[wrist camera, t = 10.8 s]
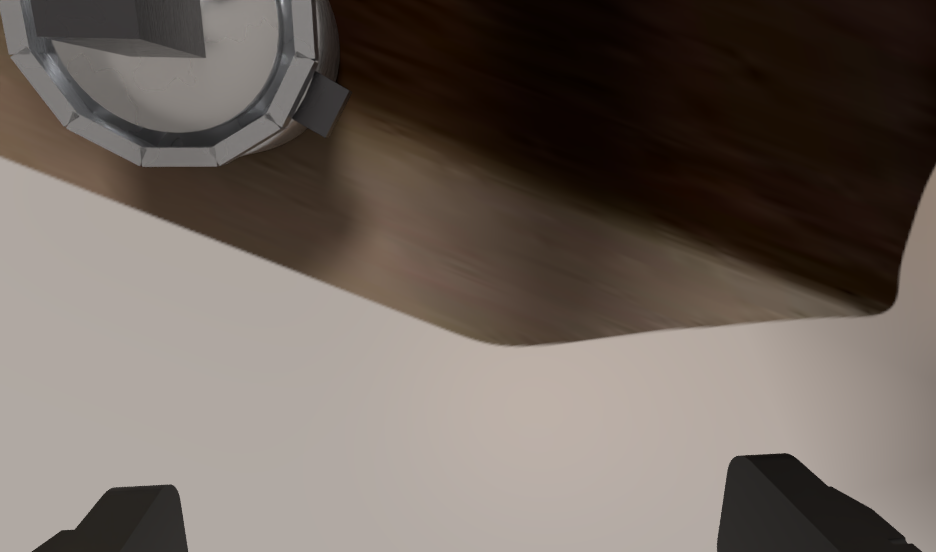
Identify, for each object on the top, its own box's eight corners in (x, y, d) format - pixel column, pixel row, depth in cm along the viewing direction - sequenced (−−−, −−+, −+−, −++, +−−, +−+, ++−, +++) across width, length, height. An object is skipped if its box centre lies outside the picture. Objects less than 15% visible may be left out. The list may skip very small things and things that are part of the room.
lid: (41, -105, 22) (-124, -203, 15) (275, -94, 23) (218, -183, 16) (80, 131, 25) (-47, 136, 18) (291, 132, 26) (248, 138, 19)
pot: (138, -147, 29) (18, -263, 20) (402, 20, 32) (398, -17, 23) (52, 68, 31) (-90, 48, 22) (307, 203, 34) (271, 233, 26)
